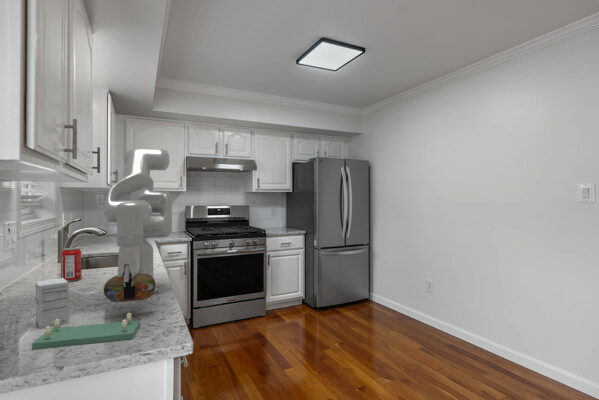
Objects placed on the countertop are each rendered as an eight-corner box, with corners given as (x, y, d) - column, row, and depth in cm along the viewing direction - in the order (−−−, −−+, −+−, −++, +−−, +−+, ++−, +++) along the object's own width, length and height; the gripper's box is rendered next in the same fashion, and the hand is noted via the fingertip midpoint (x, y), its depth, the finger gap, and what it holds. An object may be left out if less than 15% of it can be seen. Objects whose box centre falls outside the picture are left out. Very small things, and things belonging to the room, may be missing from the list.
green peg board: (50, 333, 92) (50, 317, 92) (139, 325, 98) (139, 309, 98) (32, 349, 82) (32, 330, 82) (132, 338, 89) (132, 321, 89)
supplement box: (35, 322, 101) (35, 281, 101) (64, 316, 106) (64, 277, 106) (38, 329, 96) (38, 285, 96) (69, 322, 101) (68, 281, 101)
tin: (103, 303, 104) (102, 277, 103) (106, 299, 107) (106, 274, 106) (155, 299, 108) (154, 274, 107) (156, 296, 111) (156, 271, 110)
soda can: (65, 283, 147) (65, 250, 147) (57, 281, 151) (57, 248, 151) (84, 279, 154) (84, 247, 154) (76, 277, 158) (76, 246, 158)
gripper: (123, 236, 113) (124, 289, 114) (110, 245, 97) (110, 306, 98) (147, 236, 115) (147, 288, 116) (137, 244, 99) (138, 304, 100)
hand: (130, 296), depth 107 cm, fingers closed on tin, 2 cm apart
